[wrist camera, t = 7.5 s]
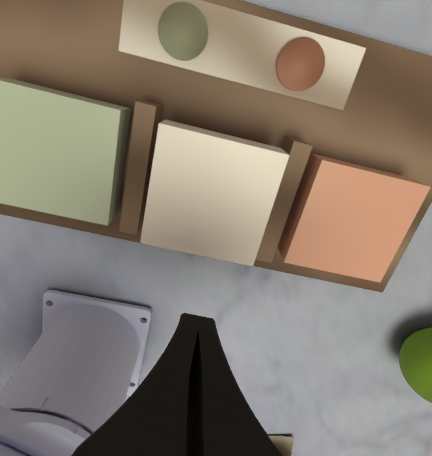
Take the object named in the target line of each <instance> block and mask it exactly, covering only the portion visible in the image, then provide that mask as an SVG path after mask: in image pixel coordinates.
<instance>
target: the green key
mask: <svg viewBox="0 0 432 456" xmlns="http://www.w3.org/2000/svg"><path fill="white" fill-rule="evenodd" d="M130 112H131V108H128V107H124V106H120V105H116V104H112V103H107V102H103V101H99V100H95V99H91V98H87V97H83V96H79V95H75V94H71V93H67V92H63V91H59V90H55V89H51V88H47V87H43V86H39V85H35V84H31V83H27V82H23V81H19V80H15V79H8V78H0V203H1V204H6V205H11V206H16V207H21V208H25V209H30V210H35V211H40V212H44V213H49V214H54V215H59V216H64V217H68V218H73V219H78V220H83V221H88V222H92V223H97V224H102V225H107V226H108V225H109V224H110V222H111V221H112V220H113V219H114V217H115V216H116V215H117V214H118V211H119V203H120V194H121V186H122V178H123V170H124V161H125V153H126V145H127V137H128V128H129V120H130Z"/></svg>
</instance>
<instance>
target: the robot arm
mask: <svg viewBox="0 0 432 456" xmlns="http://www.w3.org/2000/svg"><path fill="white" fill-rule="evenodd" d="M49 301H51V302H52V303H50V302H49ZM151 316H152V311H151V309H149V308H147V307H143V306H137V305H132V304H126V303H121V302H116V301H110V300H105V299H99V298H94V297H89V296H83V295H78V294H72V293H67V292H61V291H56V290H47V291H46V292H45V293H44V294H43V314H42V335H41V336H40V337H39V339H38V340H37V342H36V343H35V344H34V346H33V347H32V349H31V350H30V351H29V353H28V354H27V356H26V357H25V358H24V360H23V361H22V363H21V364H20V366H19V367H18V368H17V370H16V371H15V373H14V374H13V375H12V377H11V378H10V380H9V381H8V382H7V384H6V385H5V387H4V388H3V389H2V391H1V392H0V456H283V455H282V454H281V453H280V451H279V450H278V449H277V447H276V446H275V445H274V443H273V442H272V441H271V439H270V438H269V436H268V435H267V433H266V432H265V430H264V429H263V427H262V426H261V424H260V423H259V421H258V420H257V418H256V417H255V415H254V413H253V412H252V410H251V408H250V407H249V405H248V403H247V401H246V400H245V398H244V396H243V394H242V392H241V390H240V388H239V386H238V384H237V382H236V380H235V378H234V376H233V374H232V371H231V369H230V367H229V364H228V362H227V359H226V356H225V354H224V351H223V348H222V346H221V342H220V339H219V336H218V333H217V329H216V325H215V321H214V319H212V318H207V317H202V316H197V315H192V314H187V313H183V314H181V317H180V321H179V324H178V326H177V329H176V331H175V333H174V335H173V337H172V339H171V340H170V342H169V344H168V346H167V348H166V349H165V351H164V352H163V354H162V355H161V357H160V358H159V360H158V361H157V363H156V364H155V366H154V367H153V369H152V370H151V371H150V373H149V374H148V375H147V377H146V378H145V379H144V381H143V382H142V383H141V384H140V385H139V387H138V383H139V378H140V373H141V367H142V362H143V357H144V352H145V347H146V342H147V336H148V331H149V326H150V321H151ZM142 318H146V320H144V319H142ZM132 382H133V383H132ZM126 396H130V397H129V398H128V399H127V400H126V401H125V398H126ZM124 402H125V403H124Z"/></svg>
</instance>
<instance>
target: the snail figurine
mask: <svg viewBox="0 0 432 456" xmlns="http://www.w3.org/2000/svg"><path fill="white" fill-rule="evenodd" d="M399 363H400V368H401V371H402V374H403V376H404V378H405V380H406V381H407V383H408V384H409V385H410V387H411V388H412V389H413V390H414V391H415V392H416V393H417V394H419V395H420V396H421V397H422V398H424V399H426V400H427V401H429V402H431V403H432V328H425V329H421V330H418V331H416V332H414V333H413V334H411V335H410V336H409V337H408V338H407V339H406V340H405V341H404V343H403V344H402V347H401V349H400V354H399Z"/></svg>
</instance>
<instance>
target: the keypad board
mask: <svg viewBox="0 0 432 456" xmlns="http://www.w3.org/2000/svg"><path fill="white" fill-rule="evenodd" d="M0 78H8V79H15V80H19V81H23V82H27V83H31V84H35V85H39V86H43V87H47V88H51V89H55V90H59V91H63V92H67V93H71V94H75V95H79V96H83V97H87V98H91V99H95V100H99V101H103V102H107V103H112V104H116V105H120V106H124V107H128V108H131V112H130V120H129V128H128V137H127V145H126V153H125V161H124V170H123V178H122V186H121V194H120V203H119V211H118V214H117V215H116V216H115V217H114V219H113V220H112V221H111V222H110V224H109V225H108V226H107V225H102V224H97V223H92V222H88V221H83V220H78V219H73V218H68V217H64V216H59V215H54V214H49V213H44V212H40V211H35V210H30V209H25V208H21V207H16V206H11V205H6V204H1V203H0V214H3V215H8V216H13V217H18V218H22V219H27V220H32V221H37V222H42V223H47V224H52V225H56V226H61V227H66V228H71V229H76V230H81V231H86V232H91V233H95V234H100V235H105V236H110V237H115V238H120V239H125V240H130V241H134V242H139V243H140V240H141V233H142V227H143V221H144V214H145V208H146V202H147V195H148V189H149V183H150V176H151V170H152V163H153V157H154V151H155V144H156V138H157V132H158V125H159V123H160V122H162V121H163V120H165V119H166V120H170V121H174V122H178V123H182V124H186V125H190V126H194V127H198V128H202V129H206V130H210V131H214V132H218V133H222V134H226V135H230V136H234V137H238V138H242V139H246V140H250V141H255V142H259V143H263V144H267V145H271V146H275V147H279V148H281V149H283V150H284V151H285V152H286V153H288V154H289V159H288V162H287V165H286V168H285V171H284V174H283V177H282V180H281V183H280V186H279V189H278V192H277V195H276V198H275V201H274V204H273V207H272V210H271V213H270V216H269V219H268V222H267V225H266V228H265V231H264V235H263V238H262V241H261V244H260V247H259V250H258V253H257V256H256V259H255V262H254V265H253V266H256V267H261V268H266V269H271V270H276V271H281V272H286V273H290V274H295V275H300V276H305V277H310V278H315V279H320V280H325V281H329V282H334V283H339V284H344V285H349V286H354V287H359V288H363V289H368V290H373V291H378V292H383V291H384V289H385V287H386V285H387V283H388V281H389V279H390V278H391V276H392V274H393V272H394V270H395V268H396V267H397V265H398V263H399V261H400V259H401V257H402V255H403V254H404V252H405V250H406V248H407V246H408V244H409V242H410V241H411V239H412V237H413V235H414V233H415V231H416V230H417V228H418V226H419V224H420V222H421V220H422V218H423V217H424V215H425V213H426V211H427V209H428V207H429V205H430V204H431V202H432V56H428V55H425V54H422V53H418V52H415V51H411V50H408V49H405V48H401V47H398V46H394V45H391V44H387V43H384V42H381V41H377V40H374V39H370V38H367V37H364V36H360V35H357V34H353V33H350V32H347V31H343V30H340V29H336V28H333V27H330V26H326V25H323V24H319V23H316V22H313V21H309V20H306V19H302V18H299V17H296V16H292V15H289V14H285V13H282V12H278V11H275V10H272V9H268V8H265V7H261V6H258V5H255V4H251V3H248V2H244V1H241V0H0ZM310 153H313V154H317V155H321V156H325V157H329V158H333V159H337V160H341V161H345V162H349V163H353V164H357V165H361V166H365V167H369V168H373V169H377V170H382V171H386V172H390V173H394V174H398V175H402V176H406V177H409V178H412V179H414V180H416V181H419V182H421V183H423V184H426V185H428V186H430V187H431V188H430V190H429V192H428V193H427V195H426V197H425V199H424V201H423V203H422V205H421V207H420V209H419V210H418V212H417V214H416V216H415V218H414V220H413V222H412V224H411V226H410V227H409V229H408V231H407V233H406V235H405V237H404V239H403V241H402V243H401V244H400V246H399V248H398V250H397V252H396V254H395V256H394V258H393V260H392V261H391V263H390V265H389V267H388V269H387V271H386V273H385V275H384V277H383V278H382V280H381V282H375V281H371V280H366V279H361V278H356V277H351V276H347V275H342V274H337V273H332V272H327V271H323V270H318V269H313V268H308V267H303V266H299V265H294V264H289V263H284V261H283V259H282V257H281V254H280V252H279V249H278V247H277V246H278V243H279V240H280V238H281V235H282V232H283V229H284V226H285V224H286V221H287V218H288V215H289V212H290V209H291V207H292V204H293V201H294V198H295V195H296V193H297V190H298V187H299V184H300V181H301V178H302V176H303V173H304V170H305V167H306V164H307V161H308V159H309V156H310Z"/></svg>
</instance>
